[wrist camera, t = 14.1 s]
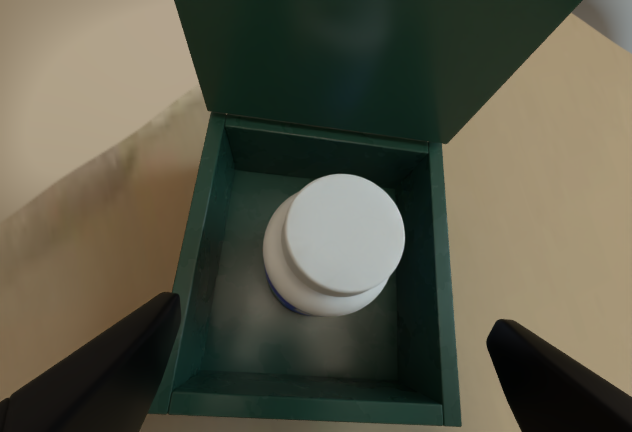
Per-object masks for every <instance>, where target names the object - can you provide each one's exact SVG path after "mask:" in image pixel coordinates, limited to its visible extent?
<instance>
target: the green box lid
mask: <svg viewBox="0 0 632 432" xmlns="http://www.w3.org/2000/svg"><path fill="white" fill-rule="evenodd" d="M174 1H175V4H176V8H177V11H178V14H179V18H180V21H181V24H182V28H183V31H184V34H185V37H186V41H187V44H188V47H189V51H190V54H191V57H192V61H193V64H194V67H195V70H196V74H197V77H198V80H199V84H200V87H201V90H202V94H203V97H204V100H205V104H206V107H207V110H208V111H211V112H219V113H226V114H233V115H240V116H248V117H255V118H262V119H269V120H277V121H284V122H291V123H298V124H305V125H313V126H320V127H327V128H334V129H342V130H349V131H356V132H363V133H371V134H378V135H385V136H392V137H400V138H407V139H414V140H421V141H428V142H436V143H443V144H447V143H448V142H449V141H450V140H451V139H452V138H453V137H454V136H455V135H456V134H457V133H458V132H459V131H460V130H461V129H462V128H463V126H464V125H465V124H466V123H467V122H468V121H469V120H470V119H471V118H472V117H473V116H474V115H475V114H476V113H477V112H478V111H479V110H480V108H481V107H482V106H483V105H484V104H485V103H486V102H487V101H488V100H489V99H490V98H491V97H492V96H493V95H494V94H495V93H496V91H497V90H498V89H499V88H500V87H501V86H502V85H503V84H504V83H505V82H506V81H507V80H508V79H509V78H510V77H511V76H512V75H513V73H514V72H515V71H516V70H517V69H518V68H519V67H520V66H521V65H522V64H523V63H524V62H525V61H526V60H527V59H528V58H529V57H530V55H531V54H532V53H533V52H534V51H535V50H536V49H537V48H538V47H539V46H540V45H541V44H542V43H543V42H544V41H545V40H546V39H547V37H548V36H549V35H550V34H551V33H552V32H553V31H554V30H555V29H556V28H557V27H558V26H559V25H560V24H561V23H562V22H563V21H564V19H565V18H566V17H567V16H568V15H569V14H570V13H571V12H572V11H573V10H574V9H575V8H576V7H577V6H578V5H579V3H581V1H582V0H174Z"/></svg>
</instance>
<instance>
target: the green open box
mask: <svg viewBox="0 0 632 432" xmlns="http://www.w3.org/2000/svg"><path fill="white" fill-rule="evenodd" d="M332 174H350V175H355V176H359V177H362V178H365V179H367V180H369V181H371V182H373V183H374V184H376V185H377V186H379V187H380V188H381V189H383V190H384V191H385V192H386V193H387V194H388V195H389V197H390V198H391V199H392V200H393V202H394V203H395V205H396V206H397V208H398V210H399V212H400V215H401V217H402V221H403V224H404V231H405V243H404V250H403V253H402V257H401V259H400V262H399V264H398V265H397V267H396V269H395V270H394V271H393V273H392V274H391V275H390V276H389V279H388V281H387V283H386V285H385V286H384V288H383V290H382V291H381V292H380V294H379V295H378V296H377V297H376V298H375V299H374V300H373V301H372V302H370V303H369V304H368V305H366V306H365V307H363V308H362V309H360V310H358V311H356V312H353V313H350V314H347V315H343V316H336V317H319V316H307V315H302V314H298V313H295V312H293V311H291V310H289V309H287V308H286V307H284V306H283V305H282V304H281V303H280V302H279V301H278V300H277V299H276V298H275V297H274V295H273V294H272V292H271V290H270V288H269V286H268V283H267V279H266V273H265V266H264V259H263V241H264V235H265V231H266V228H267V226H268V223H269V221H270V219H271V217H272V216H273V214H274V212H275V211H276V210H277V209H278V207H279V206H280V205H281V204H282V203H283V202H284V201H285V200H286V199H288V198H289V197H290V196H292V195H294V194H295V193H297V192H299V191H300V190H301V189H302V188H304V187H305V186H306V185H307V184H309V183H310V182H312V181H314V180H316V179H318V178H321V177H324V176H328V175H332ZM172 293H177V294H179V296H180V304H181V323H180V327H179V330H178V333H177V336H176V339H175V342H174V345H173V348H172V351H171V354H170V357H169V360H168V363H167V366H166V369H165V372H164V375H163V378H162V381H161V383H160V386H159V388H158V391H157V393H156V395H155V397H154V400H153V402H152V404H151V406H150V408H149V411H148V413H147V414H169V415H188V416H213V417H237V418H261V419H285V420H310V421H334V422H358V423H383V424H407V425H431V426H452V427H461V426H462V423H461V409H460V395H459V381H458V367H457V353H456V339H455V324H454V310H453V296H452V282H451V268H450V254H449V240H448V226H447V211H446V197H445V183H444V169H443V155H442V143H436V142H427V141H421V140H414V139H407V138H400V137H392V136H385V135H378V134H371V133H363V132H356V131H349V130H342V129H334V128H327V127H320V126H313V125H305V124H298V123H291V122H284V121H277V120H269V119H262V118H255V117H248V116H240V115H233V114H227V115H226V114H225V113H219V112H211V114H210V119H209V124H208V128H207V133H206V137H205V142H204V147H203V151H202V156H201V161H200V165H199V170H198V174H197V179H196V184H195V188H194V193H193V198H192V202H191V207H190V211H189V216H188V221H187V225H186V230H185V234H184V239H183V244H182V248H181V253H180V258H179V262H178V267H177V271H176V276H175V281H174V285H173V290H172Z"/></svg>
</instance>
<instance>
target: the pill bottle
mask: <svg viewBox="0 0 632 432" xmlns="http://www.w3.org/2000/svg"><path fill="white" fill-rule="evenodd" d="M404 243H405V231H404V224H403V221H402V217H401V215H400V212H399V210H398V208H397V206H396V205H395V203H394V202H393V200H392V199H391V198H390V197H389V195H388V194H387V193H386V192H385V191H384V190H383V189H381V188H380V187H379V186H377V185H376V184H374V183H373V182H371V181H369V180H367V179H365V178H362V177H359V176H355V175H350V174H332V175H328V176H324V177H321V178H318V179H316V180H314V181H312V182H310V183H309V184H307V185H306V186H305V187H304V188H302V189H301V190H300V191H299V192H297V193H295V194H294V195H292V196H290V197H289V198H288V199H286V200H285V201H284V202H283V203H282V204H281V205H280V206H279V207H278V209H277V210H276V211H275V212H274V214H273V216H272V217H271V219H270V221H269V223H268V226H267V228H266V231H265V235H264V241H263V259H264V266H265V273H266V279H267V283H268V286H269V288H270V290H271V292H272V294H273V295H274V297H275V298H276V299H277V300H278V301H279V302H280V303H281V304H282V305H283V306H284V307H286V308H287V309H289V310H291V311H293V312H295V313H298V314H302V315H307V316H319V317H336V316H343V315H347V314H350V313H353V312H356V311H358V310H360V309H362V308H363V307H365V306H366V305H368V304H369V303H370V302H372V301H373V300H374V299H375V298H376V297H377V296H378V295H379V294H380V292H381V291H382V290H383V288H384V286H385V285H386V283H387V281H388V279H389V276H390V275H391V274H392V273H393V271H394V270H395V269H396V267H397V265H398V264H399V262H400V259H401V257H402V253H403V250H404Z"/></svg>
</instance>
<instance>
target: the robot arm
mask: <svg viewBox="0 0 632 432" xmlns="http://www.w3.org/2000/svg"><path fill="white" fill-rule="evenodd" d="M180 323H181V304H180V296H179V294H177V293H169V292H163V293H160V294H159V295H157V296H156V297H154V298H153V299H151V300H150V301H149V302H147V303H146V304H144V305H143V306H141V307H140V308H138V309H137V310H135V311H134V312H132V313H131V314H129V315H128V316H126V317H125V318H123V319H122V320H121V321H119V322H118V323H116V324H115V325H113V326H112V327H110V328H109V329H107V330H106V331H104V332H103V333H101V334H100V335H98V336H97V337H96V338H94V339H93V340H91V341H90V342H88V343H87V344H85V345H84V346H82V347H81V348H79V349H78V350H76V351H75V352H73V353H72V354H70V355H69V356H68V357H66V358H65V359H63V360H62V361H60V362H59V363H57V364H56V365H54V366H53V367H51V368H50V369H48V370H47V371H45V372H44V373H42V374H41V375H40V376H38V377H37V378H35V379H34V380H32V381H31V382H29V383H28V384H26V385H25V386H23V387H22V388H20V389H19V390H17V391H16V392H14V393H13V394H12V395H11V396H10V398H6V399H4V400H2V401H1V402H0V432H139V430H140V428H141V426H142V424H143V422H144V419H145V417H146V415H147V413H148V411H149V408H150V406H151V404H152V402H153V400H154V397H155V395H156V393H157V391H158V388H159V386H160V383H161V381H162V378H163V375H164V372H165V369H166V366H167V363H168V360H169V357H170V354H171V351H172V348H173V345H174V342H175V339H176V336H177V333H178V330H179V327H180ZM486 344H487V349H488V351H489V354H490V357H491V359H492V362H493V365H494V367H495V370H496V373H497V375H498V378H499V381H500V383H501V386H502V389H503V391H504V394H505V396H506V399H507V401H508V404H509V406H510V408H511V410H512V412H513V414H514V417H515V419H516V421H517V423H518V425H519V427H520V429H521V431H522V432H632V397H631V396H629V395H628V394H626V393H625V392H623V391H622V390H620V389H619V388H617V387H615V386H614V385H612V384H611V383H609V382H608V381H606V380H605V379H603V378H602V377H600V376H599V375H597V374H595V373H594V372H592V371H591V370H589V369H588V368H586V367H585V366H583V365H582V364H580V363H579V362H577V361H576V360H574V359H572V358H571V357H569V356H568V355H566V354H565V353H563V352H562V351H560V350H559V349H557V348H556V347H554V346H552V345H551V344H549V343H548V342H546V341H545V340H543V339H542V338H540V337H539V336H537V335H536V334H534V333H533V332H531V331H529V330H528V329H526V328H525V327H523V326H522V325H520V324H519V323H517V322H516V321H513V320H506V319H499V320H497V321H496V323H495V324H494V326H493V328H492V330H491V332H490V334H489V336H488V337H487V341H486Z"/></svg>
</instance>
